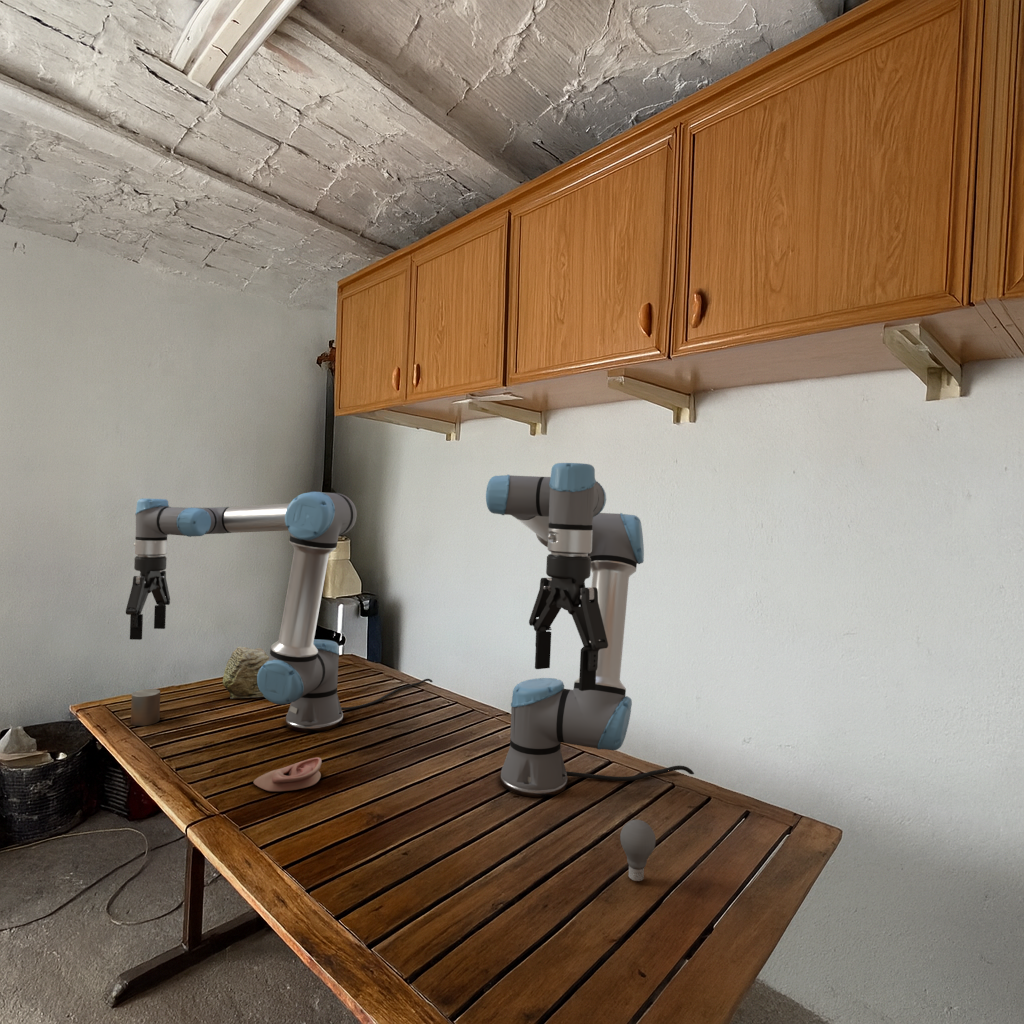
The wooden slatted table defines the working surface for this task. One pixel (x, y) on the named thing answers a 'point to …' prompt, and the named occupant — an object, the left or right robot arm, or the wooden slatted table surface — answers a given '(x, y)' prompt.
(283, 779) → the anatomical model
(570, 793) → the wooden slatted table surface
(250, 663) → the fossil
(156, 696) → the can
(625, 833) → the light bulb
